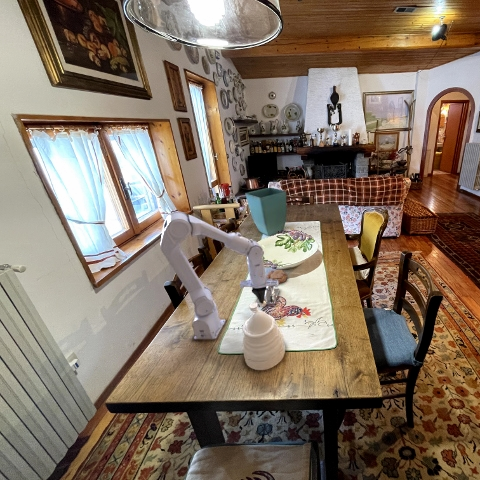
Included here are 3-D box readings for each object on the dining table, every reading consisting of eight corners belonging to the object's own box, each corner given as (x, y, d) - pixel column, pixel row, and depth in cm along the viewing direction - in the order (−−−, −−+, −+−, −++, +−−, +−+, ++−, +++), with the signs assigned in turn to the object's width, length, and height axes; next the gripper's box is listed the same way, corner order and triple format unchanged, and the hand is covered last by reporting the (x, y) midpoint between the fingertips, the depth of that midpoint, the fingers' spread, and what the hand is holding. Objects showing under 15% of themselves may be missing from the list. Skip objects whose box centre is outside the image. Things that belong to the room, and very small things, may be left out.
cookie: (277, 286, 116) (276, 281, 115) (262, 280, 122) (261, 274, 121) (292, 277, 123) (291, 271, 122) (277, 270, 129) (276, 265, 128)
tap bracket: (274, 305, 104) (272, 290, 101) (255, 305, 104) (252, 290, 101) (279, 290, 113) (277, 276, 110) (261, 290, 114) (259, 277, 111)
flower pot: (266, 239, 166) (260, 197, 155) (251, 232, 180) (244, 193, 168) (290, 230, 178) (286, 191, 167) (275, 224, 192) (270, 187, 180)
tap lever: (266, 308, 101) (264, 305, 99) (259, 308, 101) (258, 305, 99) (270, 285, 108) (269, 282, 106) (264, 286, 108) (263, 282, 107)
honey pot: (237, 353, 82) (226, 309, 75) (270, 332, 90) (263, 290, 83) (258, 378, 74) (248, 331, 66) (293, 351, 82) (287, 307, 74)
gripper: (278, 266, 98) (282, 295, 104) (241, 267, 99) (247, 295, 104) (274, 276, 92) (278, 306, 97) (235, 276, 92) (242, 306, 98)
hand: (262, 301), depth 100 cm, fingers closed, pressing on tap lever
